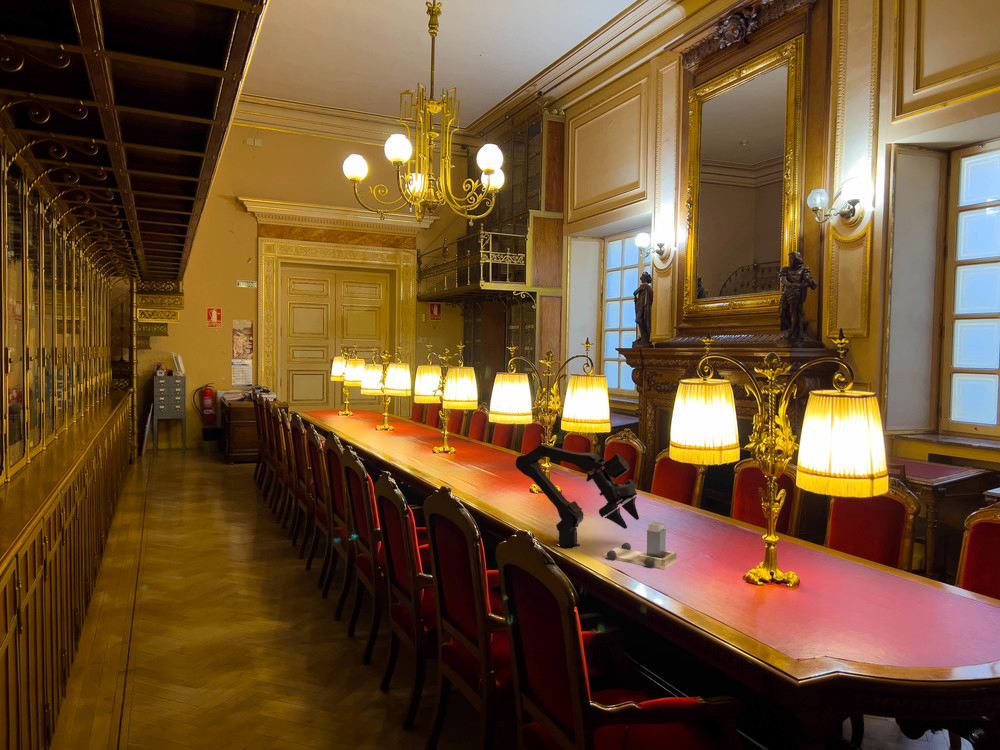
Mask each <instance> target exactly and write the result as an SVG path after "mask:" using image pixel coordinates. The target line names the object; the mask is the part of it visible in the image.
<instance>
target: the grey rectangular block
mask: <svg viewBox="0 0 1000 750" xmlns="http://www.w3.org/2000/svg"><path fill="white" fill-rule="evenodd" d="M665 527H666V526H665V522H660V521H659V522H658V521H653V522H651V523H649V524H648V528H647V530H646V553H647V556H650V557H655V558H661V559H663V558H665V552H666V551H667V550H666V548H667V547H666V546H667V545H666V544H667V543H666V539H667V537H666V536H667V535H666V534H667V530H666V528H665Z"/></svg>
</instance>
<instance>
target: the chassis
mask: <svg viewBox="0 0 1000 750" xmlns="http://www.w3.org/2000/svg"><path fill="white" fill-rule="evenodd" d="M631 549H632V546H631V544H630V542H623V543H622V545H621V548H620V547H614V548H612V549H611V550H609V551H606V552H605V553H603V554H602V556H603V558H606V559H608V560H609V561H613V560H615V561H620V562H626V563H631V564H635V565H640V566H645V567H646V568H649V569H650V568H655V569H661V570H667V569H668V568H670V567H671V566H672V565H673V564H675V563H677V552H673V551H668V550H666V552H665V558H663V559H661V558H655V557H650V556H647V552H643V551H638V550H633V549H632V550H631Z"/></svg>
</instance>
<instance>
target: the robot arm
mask: <svg viewBox="0 0 1000 750" xmlns="http://www.w3.org/2000/svg"><path fill="white" fill-rule="evenodd" d="M544 457H545V458H549V459H553V460H557V461H560V462H565V463H568V464H572V465H574V466H575V467H576V468H579V469H580V470H582V471H585V472H589V473H587V474H586V475H587V477H586V482H591V480H592V481H593V482H594V484H595V485H596V487H597V488H598V490H599V496H600V497H602V496H603V497H604V499H605V501H606V503H605V505H603V506H602V507H601V508H599V509H598V514H599V516H600V517H601V518H604V519H607V520H609V521H611V522H613V523H615V524H616V525H618V526H619V527H621V528H623V529H625V530H626V529H627V528H628V525H627V523H626V521H625V520H624V518H623V516H622V514H621V507H622V509H624V510H625V511H626V512H627V513H628V514H629V515H630V516H631V517H632V518H633V519H635V520H636V521H638V520H640V516H639V513H638V509H637V507H636V504H635V503H636V499H637V496H636V495H638V493H637V492H636V487H637V484H635V482H634V481H633V479H630V478H629V479H626V481H625V482H624V483H623V484H620V483H619V482H617V481H616V482H615V481H614V480H613V478H614V479H618V478H619V477H621V476H623V475H624V474H625V473H627V472H629V470H630V465H629V463H628V461H627V460H626V459H624V457H622V456H620V454H619V453H616V454H614V455H613V456H612V457H611V458H610V459H608V460H607V459H605V458H603V457H602V458H601V457H600V456H599V455H598V454H597V453H595V452H576V451H573V450H568V449H564V448H559V447H556V446H552V445H548V444H547V443H546V444H545V443H544V444H540V445H537V447H535V448H534V449H533V450H531V451H529V452H528V453H525V454H521V455H519V456H518V457H516V459H515V467H516V469H517V470H519V472H521V473H522V474H523V475H525V476H526V477H528V478H530V479H531V480H532V481H533V483H535V484H536V486H537V487H538V488H539V489H540V490H541V492H542V493H543V494H544V495H545V496H546V497H547V499H548V500H550V501H549V502H551V503H552V504H553V506H554V507H555V508H556V510H557V512H558V516H559V518H560V521H559V522H558V523H556V524H555V526H556V530H557V532H558V542H557V543H558V544H559V545H560V546H563V547H565V548H564V549H566V548H571V549H573V547H574V548H577V547H580V546H581V544H579V543H578V531H577V530H578V529H577V528H578V527H579V525H580V524H581V523H582V522H583V521H584V516H585V515H584V512H583V508H582V507H580V506H579V505H578V503H577V501H575V500H573V501H572V502H570V501H569V500H567V499H566V497H565V496H563V494H562V492H560V491H559V489H558V488H557V487H556V486H555V484H554V483H553V482H552V481H551V480H550V478H548V476H547V475H546V474H545V473H544V472H543V470H542V468H541V463H540V462H539V461H541V460H542V459H543V458H544ZM602 468H603V469H602ZM600 469H601V470H600ZM593 471H594V472H593ZM591 472H592V473H591ZM619 505H621V507H619ZM563 547H562V548H563Z"/></svg>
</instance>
